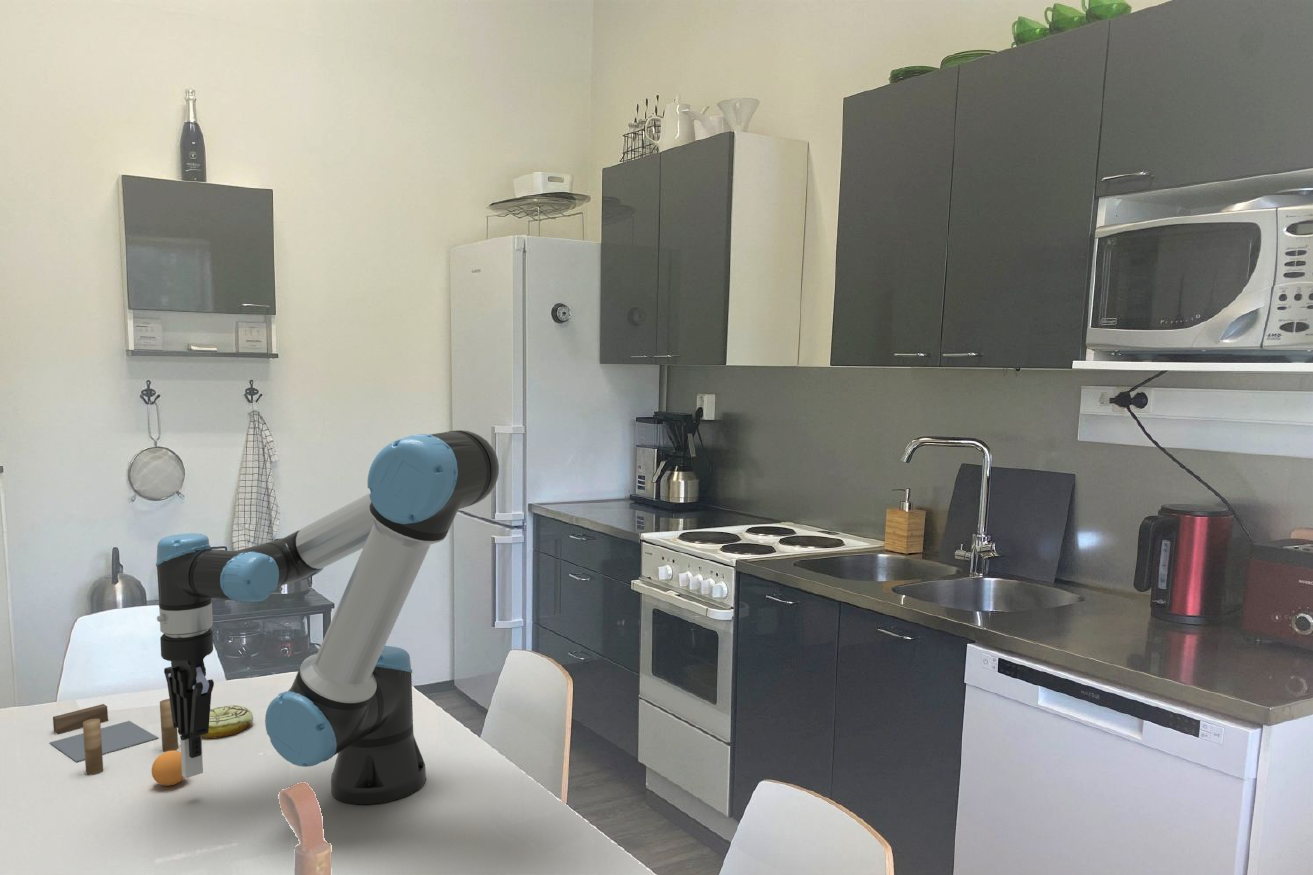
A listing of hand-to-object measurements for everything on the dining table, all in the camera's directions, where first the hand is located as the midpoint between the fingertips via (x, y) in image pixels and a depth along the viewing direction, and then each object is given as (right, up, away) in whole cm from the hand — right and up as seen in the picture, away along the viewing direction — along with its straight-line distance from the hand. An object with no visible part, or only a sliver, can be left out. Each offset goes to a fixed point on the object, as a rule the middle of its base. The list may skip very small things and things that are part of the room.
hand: (192, 774), depth 154 cm
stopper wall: (-39, -3, +34) cm, 51 cm away
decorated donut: (-9, -3, +31) cm, 32 cm away
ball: (-7, -1, +6) cm, 9 cm away
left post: (-23, -4, +12) cm, 26 cm away
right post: (-15, -3, +22) cm, 26 cm away
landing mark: (-29, -3, +26) cm, 39 cm away
